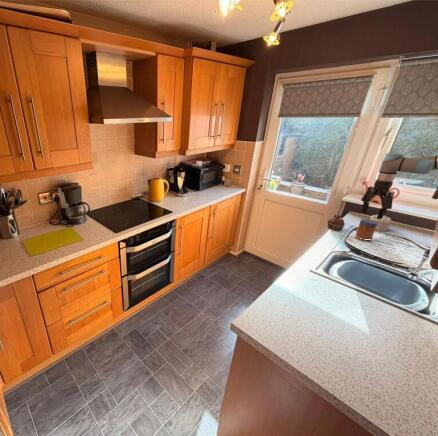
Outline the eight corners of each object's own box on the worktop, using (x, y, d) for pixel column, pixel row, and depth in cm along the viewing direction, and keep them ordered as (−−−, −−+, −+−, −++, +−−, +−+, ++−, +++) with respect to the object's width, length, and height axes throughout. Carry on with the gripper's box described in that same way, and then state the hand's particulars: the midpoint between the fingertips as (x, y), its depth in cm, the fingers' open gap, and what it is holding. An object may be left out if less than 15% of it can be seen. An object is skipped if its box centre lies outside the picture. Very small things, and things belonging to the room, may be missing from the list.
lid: (380, 226, 142) (381, 223, 141) (368, 226, 141) (369, 224, 141) (368, 221, 149) (369, 218, 148) (356, 221, 149) (357, 219, 148)
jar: (374, 241, 145) (381, 224, 141) (362, 241, 145) (368, 224, 141) (363, 235, 153) (369, 219, 149) (351, 236, 153) (357, 219, 148)
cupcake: (344, 232, 158) (349, 218, 154) (327, 230, 162) (331, 216, 158) (340, 227, 166) (345, 214, 162) (324, 225, 170) (328, 212, 166)
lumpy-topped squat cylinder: (387, 227, 165) (392, 216, 162) (387, 233, 156) (392, 221, 153) (368, 223, 171) (372, 212, 168) (367, 228, 163) (371, 217, 159)
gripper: (411, 184, 125) (395, 222, 133) (372, 176, 145) (360, 209, 154) (398, 184, 124) (382, 222, 133) (361, 176, 145) (349, 209, 153)
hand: (370, 215), depth 143 cm, fingers open, 10 cm apart
